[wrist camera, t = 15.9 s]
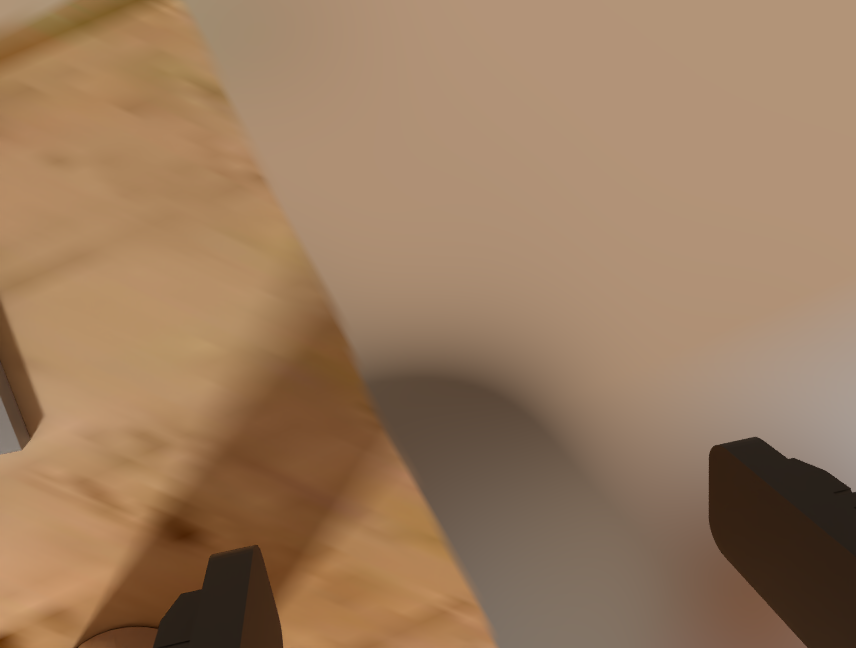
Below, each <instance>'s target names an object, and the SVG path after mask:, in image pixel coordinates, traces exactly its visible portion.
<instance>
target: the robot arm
mask: <svg viewBox="0 0 856 648" xmlns="http://www.w3.org/2000/svg"><path fill="white" fill-rule="evenodd" d="M709 523H710V528H711V532H712V535H713V538H714V540H715V542H716V544H717V546H718V548H719V550H720V551H721V553H722V554H723V555H724V556H725V557H726V558H727V560H728V561H729V562H730V563H731V564H732V565H733V566H734V567H735V568H736V569H737V571H738V572H739V573H740V574H741V575H742V576H743V577H744V578H745V579H746V581H748V583H749V584H750V585H751V586H752V587H753V588H754V589H755V590H756V592H757V593H758V594H759V595H760V596H761V597H762V598H763V599H764V600H765V601H766V602H767V604H768V605H769V606H770V607H771V608H772V609H773V610H774V611H775V612H776V613H777V614H778V616H779V617H780V618H781V619H782V620H783V621H784V622H785V623H786V624H787V626H788V627H789V628H790V629H791V630H792V631H793V632H794V633H795V634H796V635H797V636H798V638H799V639H800V640H801V641H802V642H803V643H804V644H805V645H806V646H807V647H808V648H856V492H853V493H852V492H851V488H849V487H848V486H846V485H845V484H844V483H842V482H841V481H839V480H838V479H837V478H835V477H834V476H832V475H831V474H830V473H828V472H827V471H825V470H823V469H820V468H817V467H815V466H813V465H810V464H807V463H805V462H803V461H800V460H797V459H795V458H791V459H787V458H786V457H785V456H783V455H782V454H781V453H779V452H778V451H777V450H775V449H774V448H772V447H771V446H770V445H769V444H767V443H766V442H764V441H763V440H761V439H760V438H757V437H752V438H748V439H743V440H738V441H733V442H729V443H724V444H720V445H715V446H713V447H712V449H711V451H710V454H709ZM78 648H283V639H282V631H281V625H280V620H279V615H278V612H277V608H276V604H275V601H274V597H273V593H272V590H271V586H270V582H269V579H268V575H267V571H266V568H265V564H264V560H263V557H262V553H261V551H260V548H259V547H258V545H253V546H249V547H244V548H239V549H235V550H230V551H226V552H221V553H217V554H212V555H211V556H210V558H209V562H208V566H207V570H206V575H205V579H204V583H203V588H202V589H201V590H197V591H192V592H188V593H183V594H181V595H180V596H179V597H178V599H177V600H176V601H175V603H174V604H173V605H172V607H171V608H170V609H169V611H168V612H167V613H166V615H165V616H164V617H163V618H162V620H161V622H160V625H159V628H158V629H155V628H148V627H126V628H120V629H114V630H110V631H107V632H105V633H102V634H99V635H96V636H94V637H93V638H91V639H89V640H87V641H86V642H84V643H82V644H81V645H80V646H79V647H78Z"/></svg>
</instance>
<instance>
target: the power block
mask: <svg viewBox="0 0 856 648" xmlns="http://www.w3.org/2000/svg"><path fill="white" fill-rule="evenodd" d="M30 440H31V439H30V437H29V434H28V431H27V429H26V426H25V424H24V421H23V419H22V416H21V413H20V411H19V408H18V406H17V403H16V400H15V398H14V395H13V393H12V390H11V388H10V385H9V382H8V380H7V377H6V375H5V372H4V369H3V367H2V364H1V362H0V454H6V453H11V452H16V451H21V450H22V449H23V448H24V447H25V446H26V445H27V443H28V442H29V441H30Z"/></svg>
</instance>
